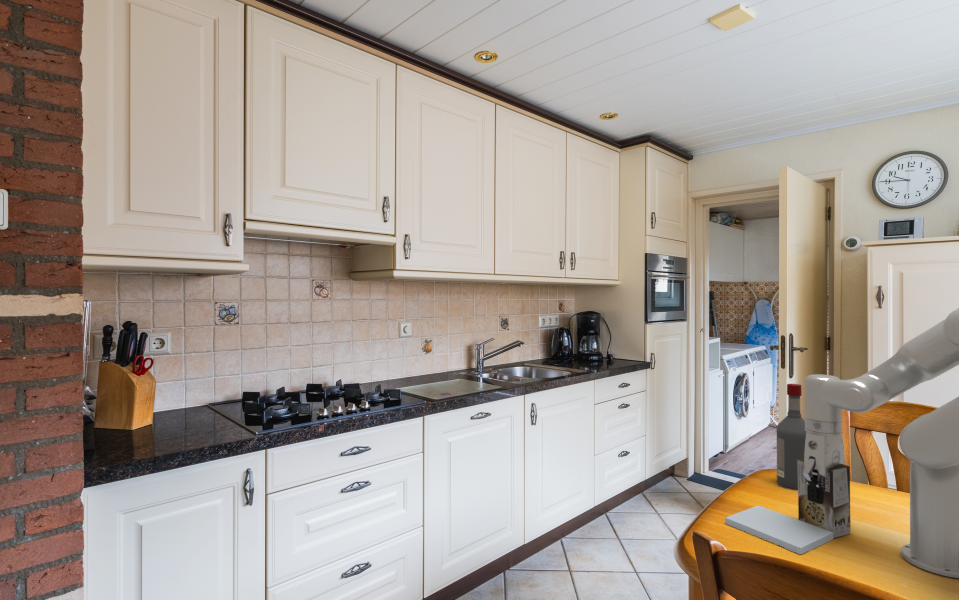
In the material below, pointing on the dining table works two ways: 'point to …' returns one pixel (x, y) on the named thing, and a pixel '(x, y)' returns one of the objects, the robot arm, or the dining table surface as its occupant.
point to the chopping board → (780, 529)
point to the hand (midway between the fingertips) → (823, 498)
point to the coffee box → (827, 500)
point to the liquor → (790, 440)
